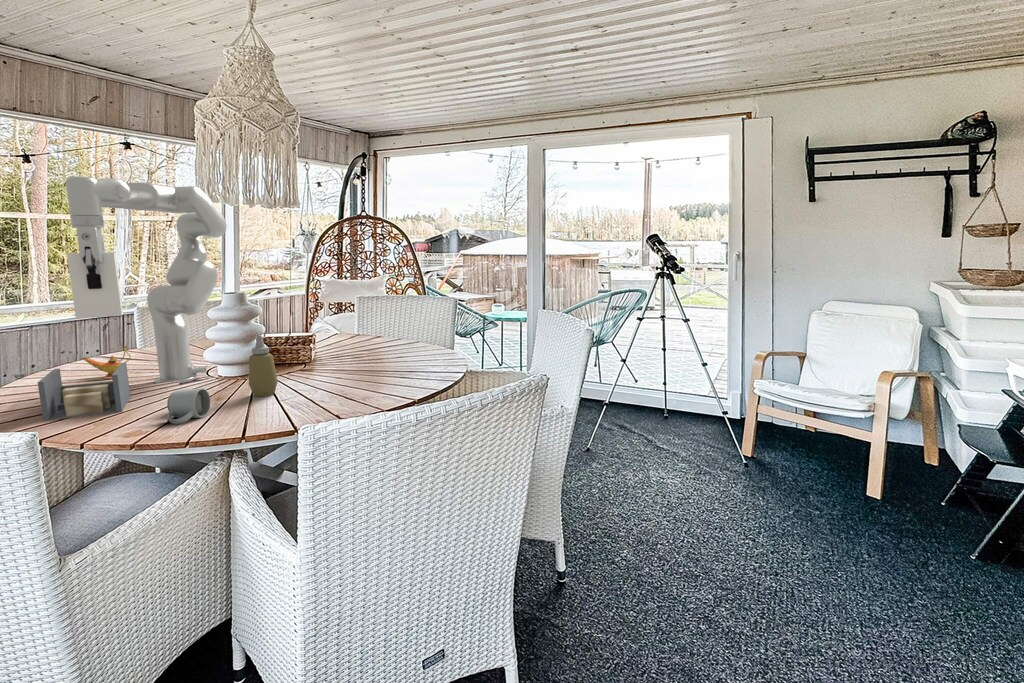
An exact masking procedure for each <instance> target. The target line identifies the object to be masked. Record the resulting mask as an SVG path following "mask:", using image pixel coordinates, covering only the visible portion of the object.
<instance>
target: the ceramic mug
mask: <svg viewBox="0 0 1024 683" xmlns="http://www.w3.org/2000/svg"><path fill="white" fill-rule="evenodd" d="M166 406H167V410H168V413H167V417H166V418H167V421H168V422H169V423H170V424H171V425H180V424H183V423H186V422H187V421H189V420H190V419H202V418H205V417H206V416H207V415H208V414H209V413H210V409H211V397H210V393H209V391H207V389H205V388H202V387H200V388H199V387H198V388H190V389H189V388H188V389H179V390H176V391H173V392H171V393H170V395H169V396H168V399H167V405H166ZM174 417H175V418H176V419H174Z"/></svg>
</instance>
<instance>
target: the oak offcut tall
mask: <svg viewBox="0 0 1024 683" xmlns="http://www.w3.org/2000/svg"><path fill="white" fill-rule="evenodd" d="M100 391H103V398H104V406H105V408H110V407H111V405H112V404H111V397H110V389H109V384H104V385H94V386H84V387H74V388H65V389H64V390H62V394H63V400H64V397H65V396H66V395H71V394H80V393H90V392H100ZM64 407H65V402H64ZM65 413H66V409H65Z"/></svg>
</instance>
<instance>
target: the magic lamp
mask: <svg viewBox="0 0 1024 683" xmlns="http://www.w3.org/2000/svg"><path fill="white" fill-rule="evenodd" d="M122 348H123V351H124V352H123V356H122V357H121V359H117V358H116V357H115V356H114V355H111V356H110V358H109V359H108V360H107V362H103V361H97V360H94V359H91V358H88V357H80V358H79V359H82V360H83V361H84V362H86V363H88V364H89V365H90V366H91V367H94V368H96V370H97V369H98V370H100V371H102V372H103V373H104V372H105V373H106V374H105V376H104V377H112V374H113V373H114V372H115V371H116V369H117V368H118V367H119V365H120V364H121V363H122V361H123V360H124V359H125V355H126V354H127V355H128V356H129V357H128V359H127V360H125V361H124V362H123V363H126V364H127V362H128V361H130V360H131V358H132V357H131V354H130V353H129V352H128V350H127V349H128V345H127V344H125V345H123V346H122Z"/></svg>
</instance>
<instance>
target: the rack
mask: <svg viewBox="0 0 1024 683" xmlns="http://www.w3.org/2000/svg"><path fill="white" fill-rule="evenodd" d="M120 363H121V364H120V365H119V367H118V368H117V369H116V371H115V372H114V373H113V374H112V378H111V380H110V381H109V380H108V381H99V382H89V383H78V384H67V385H63V381H62V375H61V368H54V369H52V370H51V371H50V372H49V373H47V374H46V375H45V376H43V377H42V378H41V379H40V380H39V381H37V386H38V393H39V394H38V395H39V401H40V406H41V407H40V408H41V414H42V420H43V421H44V422H46V421H54V420H63V419H70V418H79V417H89V416H95V415H96V416H97V415H105V414H106V415H107V414H115V413H122V412H123V411H124V409H125V407H126V406H127V403H128V401H129V400H130V398H131V390H130V382H129V373H128V367H127V362H126V363H124V362H120ZM104 384H109V389H110V397H111V404H112V405H111V407H110V408H105V410H104V411H103V412H99V413H90V414H82V415H73V416H66V413H65V407H64V400H63V394H62V390H64V389H65V388H74V387H84V386H94V385H104Z"/></svg>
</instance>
